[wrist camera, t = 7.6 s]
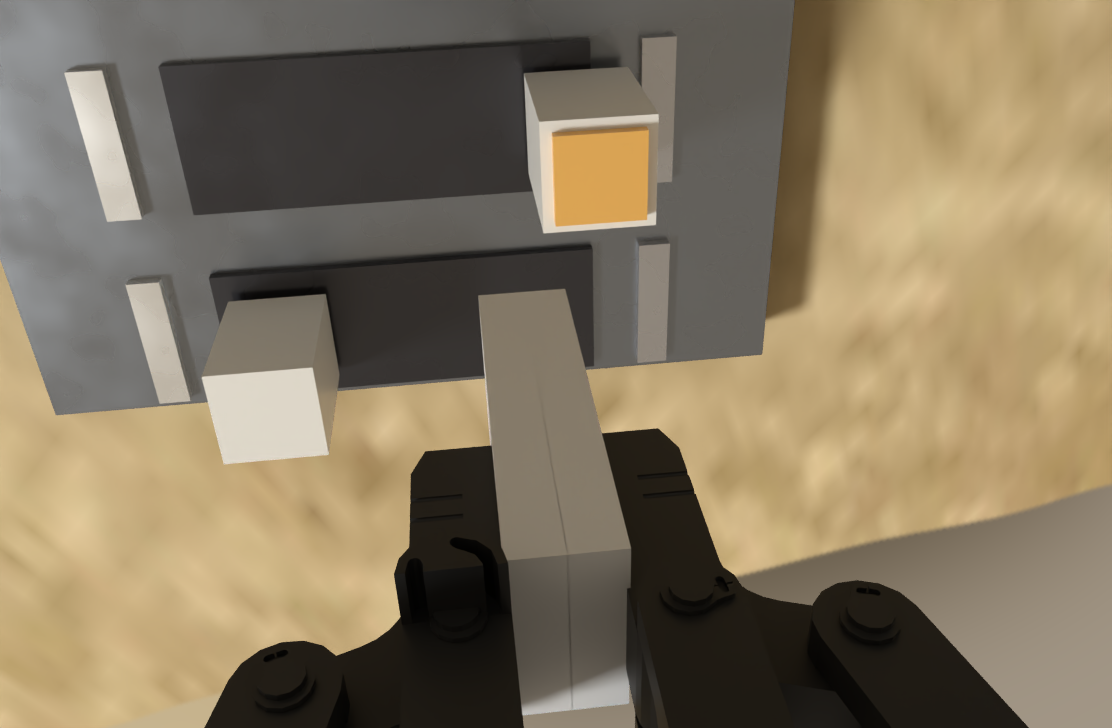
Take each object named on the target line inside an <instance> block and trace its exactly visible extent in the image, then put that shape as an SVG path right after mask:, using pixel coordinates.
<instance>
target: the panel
mask: <svg viewBox="0 0 1112 728" xmlns="http://www.w3.org/2000/svg"><path fill="white" fill-rule="evenodd" d="M794 4H795V0H0V260H1V263H2V266H3V268H4V271H5V274H6V277H7V280H8V282H9V285H10V288H11V291H12V294H13V296H14V299H15V302H16V305H17V307H18V310H19V313H20V316H21V319H22V321H23V324H24V327H25V330H26V333H27V335H28V338H29V341H30V344H31V347H32V349H33V352H34V355H35V358H36V361H37V363H38V366H39V369H40V372H41V375H42V377H43V380H44V383H45V386H46V389H47V391H48V394H49V397H50V400H51V403H52V405H53V408H54V411H55V414H56V415H64V414H75V413H87V412H99V411H110V410H122V409H134V408H145V407H157V406H169V405H180V404H192V403H204V402H208V400H207V396H206V393H205V389H204V385H203V381H202V374H203V371H204V368H205V365H206V363H207V360H208V357H209V354H210V351H211V349H212V346H213V343H214V340H215V337H216V334H217V332H218V329H219V326H220V323H221V320H222V318H223V315H224V312H225V309H226V306H227V303H228V302H230V301H243V300H256V299H269V298H281V297H294V296H307V295H320V294H326V298H327V304H328V310H329V316H330V322H331V328H332V334H333V339H334V345H335V351H336V357H337V363H338V369H339V374H340V375H339V383H338V390H337V391H343V390H355V389H367V388H378V387H390V386H402V385H413V384H425V383H437V382H448V381H460V380H472V379H483V378H485V374H484V361H483V349H482V336H481V324H480V311H479V299H478V295H491V294H504V293H516V292H529V291H542V290H555V289H565V290H566V294H567V298H568V302H569V306H570V310H571V314H572V318H573V322H574V326H575V330H576V334H577V338H578V342H579V346H580V349H581V353H582V357H583V361H584V365H585V369H586V370H588V369H600V368H611V367H623V366H635V365H646V364H658V363H670V362H681V361H693V360H705V359H716V358H728V357H740V356H751V355H762V350H763V339H764V329H765V318H766V307H767V296H768V285H769V274H770V264H771V253H772V242H773V231H774V220H775V209H776V199H777V188H778V177H779V166H780V155H781V144H782V134H783V123H784V112H785V101H786V90H787V79H788V69H789V58H790V47H791V36H792V25H793V14H794ZM616 67H629V69H630V70H631V72H632V74H633V75H634V77H635V78H636V80H637V81H638V83H639V84H640V86H641V87H642V89H643V90H644V92H645V94H646V95H647V97H648V98H649V100H650V101H651V103H652V104H653V106H654V107H655V109H656V111H657V112H658V114H659V124H658V165H657V205H656V225H650V226H637V227H623V228H610V229H596V230H583V231H570V232H556V233H543V229H542V225H541V221H540V217H539V213H538V209H537V205H536V201H535V197H534V193H533V189H532V185H531V181H530V177H529V172H528V151H527V129H526V108H525V86H524V73H534V72H550V71H567V70H583V69H599V68H616Z"/></svg>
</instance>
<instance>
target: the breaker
mask: <svg viewBox="0 0 1112 728" xmlns="http://www.w3.org/2000/svg"><path fill="white" fill-rule="evenodd" d="M339 375H340V374H339V369H338V363H337V357H336V351H335V345H334V339H333V334H332V328H331V322H330V316H329V310H328V304H327V298H326V294H320V295H307V296H294V297H281V298H269V299H256V300H243V301H230V302H228V303H227V306H226V309H225V312H224V315H223V318H222V320H221V323H220V326H219V329H218V332H217V334H216V337H215V340H214V343H213V346H212V349H211V351H210V354H209V357H208V360H207V363H206V365H205V368H204V371H203V374H202V381H203V385H204V389H205V393H206V396H207V400H208V404H209V408H210V412H211V416H212V420H213V424H214V428H215V431H216V435H217V439H218V443H219V447H220V451H221V455H222V459H223V462H224V464H232V463H243V462H254V461H265V460H276V459H287V458H298V457H309V456H320V455H329V450H330V442H331V435H332V427H333V420H334V412H335V405H336V398H337V390H338V383H339Z"/></svg>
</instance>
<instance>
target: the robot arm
mask: <svg viewBox="0 0 1112 728" xmlns="http://www.w3.org/2000/svg"><path fill="white" fill-rule="evenodd" d="M478 299H479V311H480V324H481V336H482V349H483V361H484V374H485V386H486V399H487V411H488V424H489V435H490V446H482V447H470V448H459V449H448V450H437V451H426V452H425V453H424V454H423V456H422V458H421V459H420V461H419V462H418V464H417V466H416V467H415V469H414V470H413V472H412V473H411V496H410V499H411V504H410V544H409V548H408V549H407V550H406V552H405V553H404V554H403V555H402V556H401V557H400V558H399V560H398V563H397V566H396V570H395V573H394V578H395V584H396V590H397V597H398V603H399V609H400V616H401V617H400V619H399V620H398V621H397V622H396V623H395V624H394V625H393V627H392V628H391V629H390V630H389V631H387V632H386V633H384V634H383V635H382V636H380V637H379V638H378V639H376V640H374V641H372V642H370V643H368V644H366V645H364V646H362V647H359V648H356V649H354V650H351V651H348V652H346V653H343V654H340V655H338V656H335V655H334V654H333V653H332V652H330V651H329V650H328V649H327V648H325V647H324V646H322V645H318V644H314V643H310V642H307V641H294V642H282V643H279V644H276V645H273V646H271V647H268V648H265V649H262V650H260V651H258V652H257V653H256V654H254V655H253V656H251V657H250V658H248V659H247V660H246V661H244V662H243V663H241V665H240V666H239V667H238V669H237V670H236V671H235V673H234V674H233V675H232V676H231V678H230V679H229V680H228V682H227V684H226V686H225V688H224V690H223V692H222V694H221V696H220V698H219V700H218V702H217V704H216V706H215V708H214V710H213V712H212V714H211V716H210V718H209V720H208V722H207V724H206V726H205V728H524V726H523V716H522V715H530V714H539V713H549V712H558V711H566V710H576V709H584V708H594V707H603V706H612V705H621V704H629V685H630V690H631V694H632V699H633V703H634V708H635V715H636V716H635V728H1028V727H1027V725H1026V724H1025V723H1024V722H1023V721H1022V720H1021V719H1020V718H1019V717H1018V716H1017V714H1016V713H1015V712H1014V711H1012V709H1011V708H1010V707H1009V706H1008V705H1007V704H1006V703H1005V701H1004V700H1003V699H1002V698H1001V697H1000V696H999V695H998V694H997V693H996V692H995V691H994V689H993V688H991V686H990V685H989V684H988V683H987V682H986V681H985V680H984V679H983V677H981V675H980V674H979V673H978V672H977V671H976V670H975V669H974V668H973V667H972V666H971V664H970V663H969V662H968V661H967V660H966V659H965V658H964V657H963V656H962V655H961V654H960V652H959V651H958V650H957V649H956V648H955V647H954V646H953V645H952V644H951V643H950V642H949V641H948V639H947V638H946V637H945V636H944V635H943V634H942V633H941V632H940V631H939V630H938V629H937V628H936V626H935V625H934V624H933V623H932V622H931V621H930V620H929V619H928V618H927V617H926V616H925V614H924V613H923V612H922V611H921V610H920V609H919V608H918V607H917V606H916V605H915V604H914V603H913V602H911V601H910V600H909V599H907V598H906V597H905V596H904V595H902V594H901V593H900V592H898V591H895V590H893V589H891V588H888V587H886V586H884V585H881V584H878V583H871V582H864V581H858V580H857V581H849V582H842V583H837V584H835V585H833V586H831V587H829V588H827V589H825V590H824V591H822V592H821V593H820V595H819V596H818V598H817V599H816V601H815V602H814V603H813V606H811V605H805V604H798V603H791V602H784V601H778V600H774V599H770V598H766V597H762V596H760V595H757V594H755V593H753V592H750V591H748V590H747V589H745V588H744V587H742V586H741V584H740V583H739V581H738V580H737V578H736V577H735V575H734V574H732V573H731V572H729V571H728V570H726V569H725V568H724V567H723V566H722V564H721V563H720V561H719V558H718V555H717V552H716V550H715V547H714V544H713V541H712V538H711V536H710V533H709V530H708V527H707V524H706V522H705V519H704V516H703V513H702V511H701V508H700V505H699V502H698V499H697V497H696V494H694V488H693V485H692V483H691V480H690V477H689V475H688V474H687V469H686V466H685V463H684V460H683V458H682V455H681V452H680V449H679V447H678V446H677V445H676V444H674V443H673V442H672V441H671V440H670V439H669V438H668V437H667V436H666V435H665V434H664V433H663V432H661V431H660V430H659V429H647V430H635V431H624V432H613V433H602V432H601V428H600V424H599V420H598V416H597V412H596V408H595V404H594V401H593V397H592V393H591V389H590V385H589V381H588V377H587V373H586V369H585V365H584V361H583V357H582V353H581V349H580V346H579V342H578V338H577V334H576V330H575V326H574V322H573V318H572V314H571V310H570V306H569V302H568V298H567V294H566V290H565V289H555V290H542V291H529V292H516V293H504V294H491V295H478Z"/></svg>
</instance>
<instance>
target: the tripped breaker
mask: <svg viewBox="0 0 1112 728" xmlns="http://www.w3.org/2000/svg"><path fill="white" fill-rule="evenodd" d="M524 86H525V108H526V129H527V151H528V172H529V177H530V181H531V185H532V189H533V193H534V197H535V201H536V205H537V209H538V213H539V217H540V221H541V225H542V229H543V233H556V232H570V231H583V230H596V229H610V228H623V227H637V226H650V225H656V205H657V165H658V124H659V114H658V112H657V111H656V109H655V107H654V106H653V104H652V103H651V101H650V100H649V98H648V97H647V95H646V94H645V92H644V90H643V89H642V87H641V86H640V84H639V83H638V81H637V80H636V78H635V77H634V75H633V74H632V72H631V70H630V69H629V67H616V68H599V69H583V70H567V71H550V72H534V73H524Z"/></svg>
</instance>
